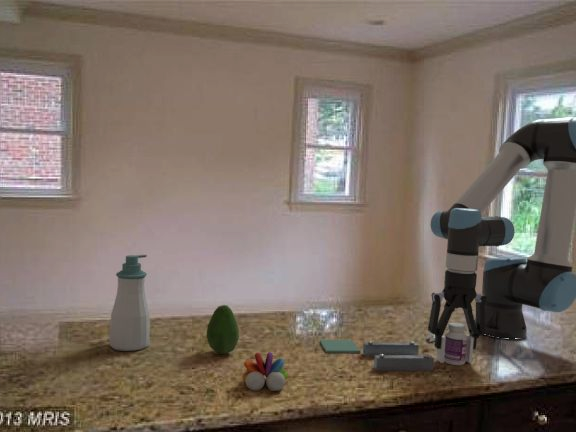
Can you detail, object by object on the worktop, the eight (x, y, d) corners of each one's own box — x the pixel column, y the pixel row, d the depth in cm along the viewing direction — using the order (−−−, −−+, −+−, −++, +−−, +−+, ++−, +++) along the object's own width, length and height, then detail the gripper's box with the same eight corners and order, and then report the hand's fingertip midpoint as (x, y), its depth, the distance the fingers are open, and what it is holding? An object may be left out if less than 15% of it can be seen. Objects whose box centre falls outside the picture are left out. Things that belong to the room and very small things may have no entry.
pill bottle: (466, 366, 137) (469, 328, 136) (444, 364, 138) (446, 326, 137) (464, 359, 142) (466, 322, 141) (442, 357, 143) (445, 320, 142)
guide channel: (415, 353, 145) (416, 340, 144) (433, 370, 133) (434, 356, 132) (362, 353, 143) (363, 340, 142) (376, 370, 131) (377, 356, 131)
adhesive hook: (425, 340, 158) (425, 330, 158) (432, 340, 159) (433, 329, 159) (431, 344, 155) (432, 333, 155) (439, 343, 156) (440, 332, 156)
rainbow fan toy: (242, 377, 123) (243, 345, 122) (285, 378, 123) (287, 346, 123) (241, 393, 114) (243, 358, 114) (288, 393, 115) (290, 359, 114)
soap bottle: (157, 347, 140) (160, 257, 138) (122, 355, 133) (124, 260, 131) (136, 337, 147) (138, 252, 145) (101, 344, 140) (103, 254, 138)
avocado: (224, 345, 144) (226, 300, 143) (244, 354, 138) (246, 306, 137) (199, 351, 138) (201, 304, 137) (218, 360, 132) (220, 311, 131)
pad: (352, 342, 152) (352, 340, 152) (360, 353, 143) (360, 350, 143) (319, 341, 151) (319, 339, 151) (326, 352, 142) (326, 350, 142)
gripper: (490, 269, 143) (483, 356, 145) (417, 266, 140) (411, 355, 142) (505, 274, 135) (498, 366, 137) (429, 272, 133) (422, 366, 135)
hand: (454, 361), depth 140 cm, fingers open, 7 cm apart
